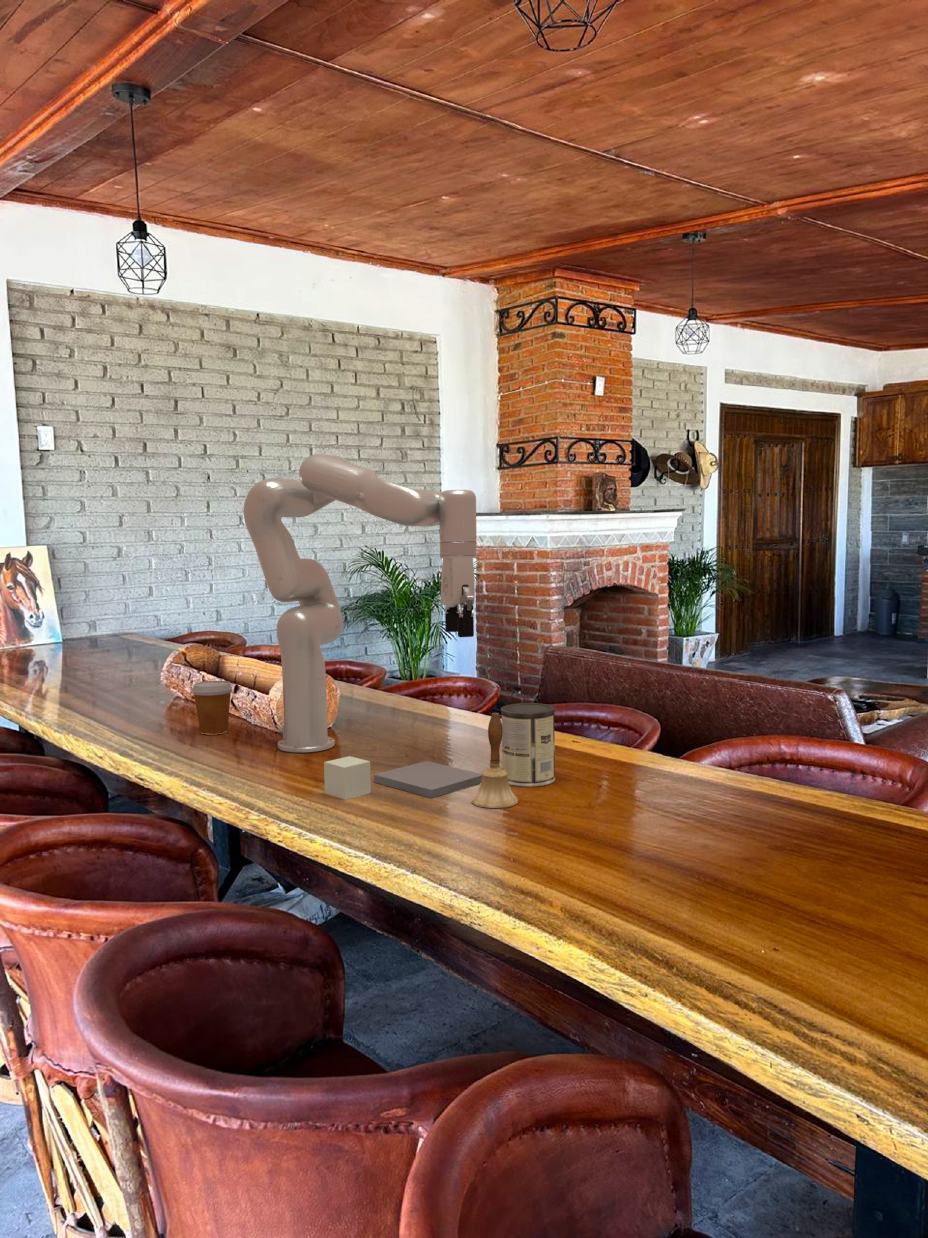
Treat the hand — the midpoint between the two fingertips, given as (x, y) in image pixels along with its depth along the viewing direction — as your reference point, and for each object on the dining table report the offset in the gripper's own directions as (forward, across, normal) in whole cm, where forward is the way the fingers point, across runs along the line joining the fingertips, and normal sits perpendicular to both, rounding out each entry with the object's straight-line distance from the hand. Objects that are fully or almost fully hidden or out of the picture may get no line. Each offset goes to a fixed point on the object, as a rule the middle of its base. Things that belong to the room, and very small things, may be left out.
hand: (459, 634), depth 194 cm
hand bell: (+27, +30, -2) cm, 40 cm away
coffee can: (+27, +18, +8) cm, 33 cm away
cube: (+27, +16, -26) cm, 41 cm away
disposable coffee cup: (+27, -46, -49) cm, 72 cm away
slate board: (+27, +14, -10) cm, 32 cm away
